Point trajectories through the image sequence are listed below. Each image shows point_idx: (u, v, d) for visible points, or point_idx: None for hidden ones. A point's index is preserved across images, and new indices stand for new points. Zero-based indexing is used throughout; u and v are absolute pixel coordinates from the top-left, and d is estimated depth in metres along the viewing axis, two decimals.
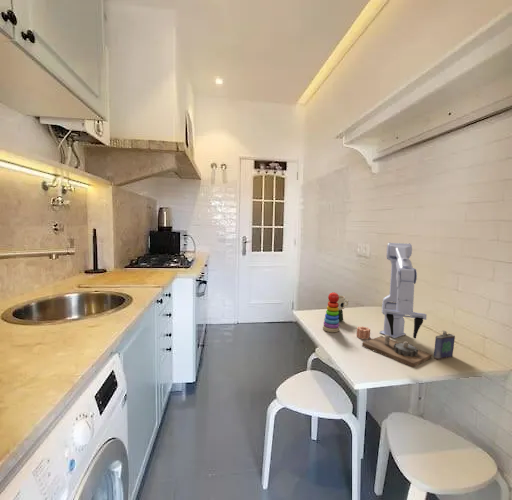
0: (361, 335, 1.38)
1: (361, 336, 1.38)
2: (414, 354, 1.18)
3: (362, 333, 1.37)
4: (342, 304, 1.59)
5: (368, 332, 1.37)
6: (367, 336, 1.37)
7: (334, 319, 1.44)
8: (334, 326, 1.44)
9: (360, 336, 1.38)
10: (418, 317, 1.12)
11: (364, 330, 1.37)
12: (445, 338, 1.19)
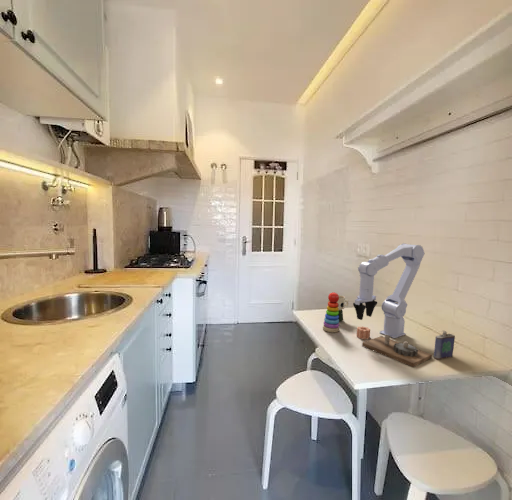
0: (361, 335, 1.38)
1: (361, 336, 1.38)
2: (414, 354, 1.18)
3: (362, 333, 1.37)
4: (342, 304, 1.59)
5: (368, 332, 1.37)
6: (367, 336, 1.37)
7: (334, 319, 1.44)
8: (334, 326, 1.44)
9: (360, 336, 1.38)
10: None
11: (364, 330, 1.37)
12: (445, 338, 1.19)
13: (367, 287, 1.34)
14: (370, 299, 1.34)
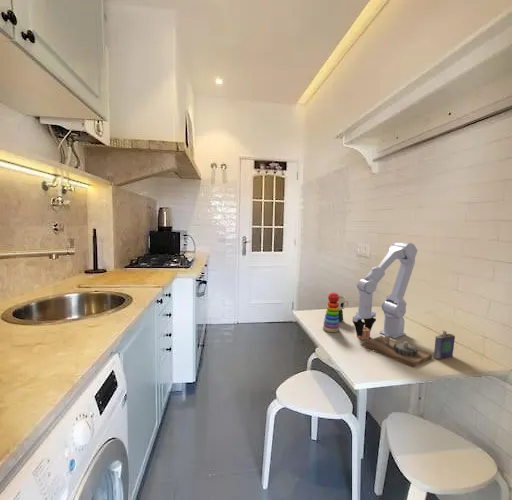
0: None
1: (361, 336, 1.38)
2: (414, 354, 1.18)
3: (362, 333, 1.37)
4: (342, 304, 1.59)
5: (368, 332, 1.37)
6: (367, 336, 1.37)
7: (334, 319, 1.44)
8: (334, 326, 1.44)
9: (360, 336, 1.38)
10: None
11: (364, 330, 1.37)
12: (445, 338, 1.19)
13: (366, 304, 1.35)
14: (368, 316, 1.36)
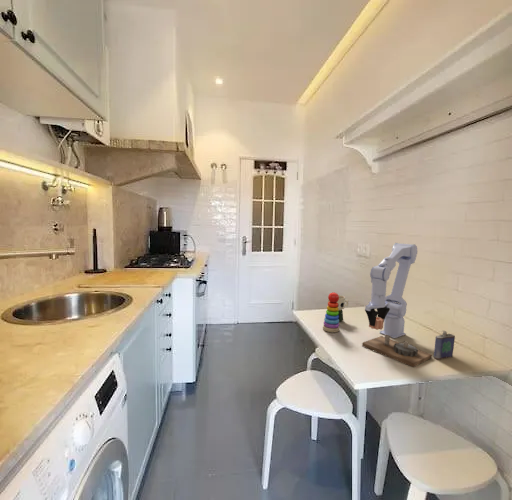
0: None
1: (374, 326, 1.31)
2: (414, 354, 1.18)
3: (375, 323, 1.30)
4: (342, 304, 1.59)
5: (381, 322, 1.30)
6: (380, 326, 1.30)
7: (334, 319, 1.44)
8: (334, 326, 1.44)
9: (373, 326, 1.31)
10: None
11: (377, 320, 1.30)
12: (445, 338, 1.19)
13: (382, 293, 1.28)
14: (382, 305, 1.29)
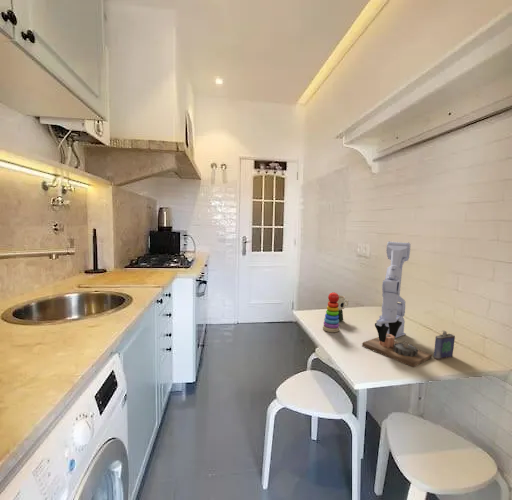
0: (385, 343, 1.26)
1: (385, 344, 1.26)
2: (414, 354, 1.18)
3: (386, 341, 1.26)
4: (342, 304, 1.59)
5: (393, 339, 1.25)
6: (391, 344, 1.25)
7: (334, 319, 1.44)
8: (334, 326, 1.44)
9: (384, 344, 1.26)
10: None
11: (388, 337, 1.25)
12: (445, 338, 1.19)
13: (395, 307, 1.24)
14: (394, 320, 1.24)
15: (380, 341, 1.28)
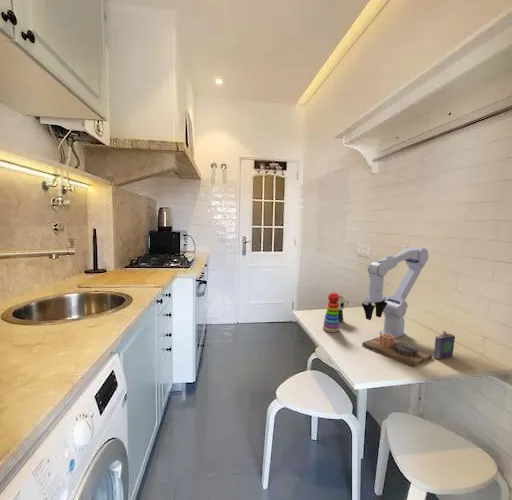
0: (385, 343, 1.26)
1: (385, 344, 1.26)
2: (414, 354, 1.18)
3: (386, 341, 1.26)
4: (342, 304, 1.59)
5: (393, 339, 1.25)
6: (391, 344, 1.25)
7: (334, 319, 1.44)
8: (334, 326, 1.44)
9: (384, 344, 1.26)
10: None
11: (388, 337, 1.25)
12: (445, 338, 1.19)
13: (378, 287, 1.34)
14: (379, 299, 1.34)
15: (380, 341, 1.28)
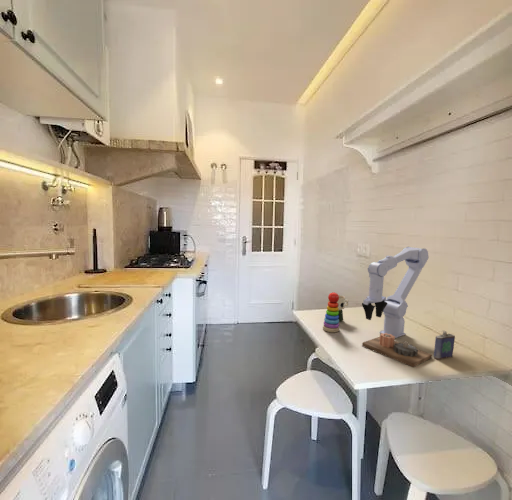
0: (385, 343, 1.26)
1: (385, 344, 1.26)
2: (414, 354, 1.18)
3: (386, 341, 1.26)
4: (342, 304, 1.59)
5: (393, 339, 1.25)
6: (391, 344, 1.25)
7: (334, 319, 1.44)
8: (334, 326, 1.44)
9: (384, 344, 1.26)
10: None
11: (388, 337, 1.25)
12: (445, 338, 1.19)
13: (378, 287, 1.34)
14: (379, 299, 1.34)
15: (380, 341, 1.28)
